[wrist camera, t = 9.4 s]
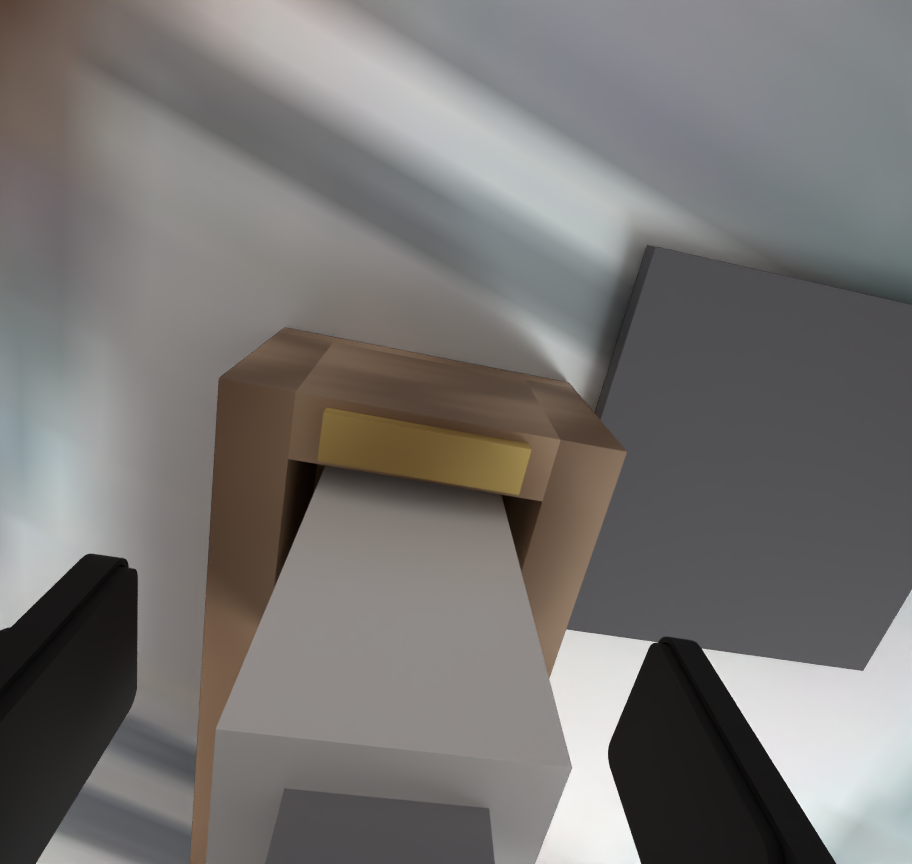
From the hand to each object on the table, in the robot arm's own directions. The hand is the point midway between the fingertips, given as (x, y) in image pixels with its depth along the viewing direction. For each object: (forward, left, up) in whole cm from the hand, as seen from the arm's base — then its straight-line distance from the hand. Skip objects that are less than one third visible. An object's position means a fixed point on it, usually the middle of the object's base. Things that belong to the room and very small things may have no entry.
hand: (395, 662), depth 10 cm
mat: (-11, -2, -7) cm, 13 cm away
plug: (0, 0, -7) cm, 7 cm away
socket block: (0, +4, -7) cm, 8 cm away
